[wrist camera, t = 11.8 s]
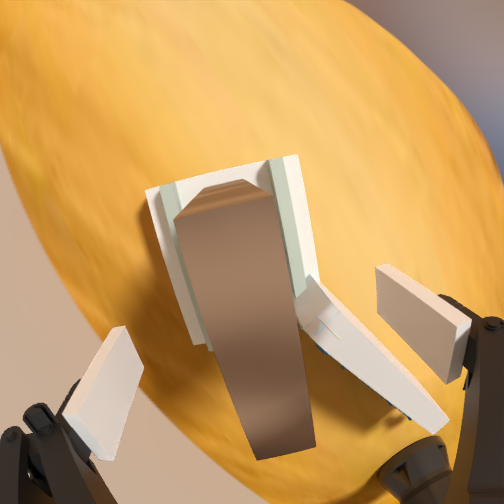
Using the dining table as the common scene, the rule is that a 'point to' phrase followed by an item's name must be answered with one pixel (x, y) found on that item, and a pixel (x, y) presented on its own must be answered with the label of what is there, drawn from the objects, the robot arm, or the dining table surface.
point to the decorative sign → (364, 355)
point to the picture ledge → (289, 216)
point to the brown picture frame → (249, 312)
